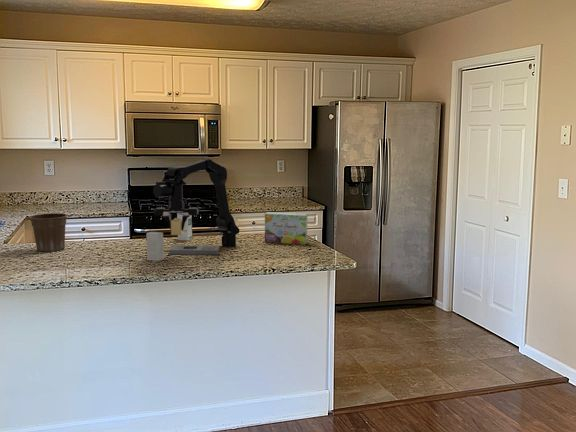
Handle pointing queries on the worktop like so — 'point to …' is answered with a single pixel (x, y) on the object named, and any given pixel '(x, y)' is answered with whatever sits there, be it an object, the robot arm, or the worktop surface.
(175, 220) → the stepped wooden chunk
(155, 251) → the skincare box
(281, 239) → the snack box
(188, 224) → the syrup box
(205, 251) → the grey slotted board
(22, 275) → the worktop surface
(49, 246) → the plant pot
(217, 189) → the robot arm
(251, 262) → the worktop surface
